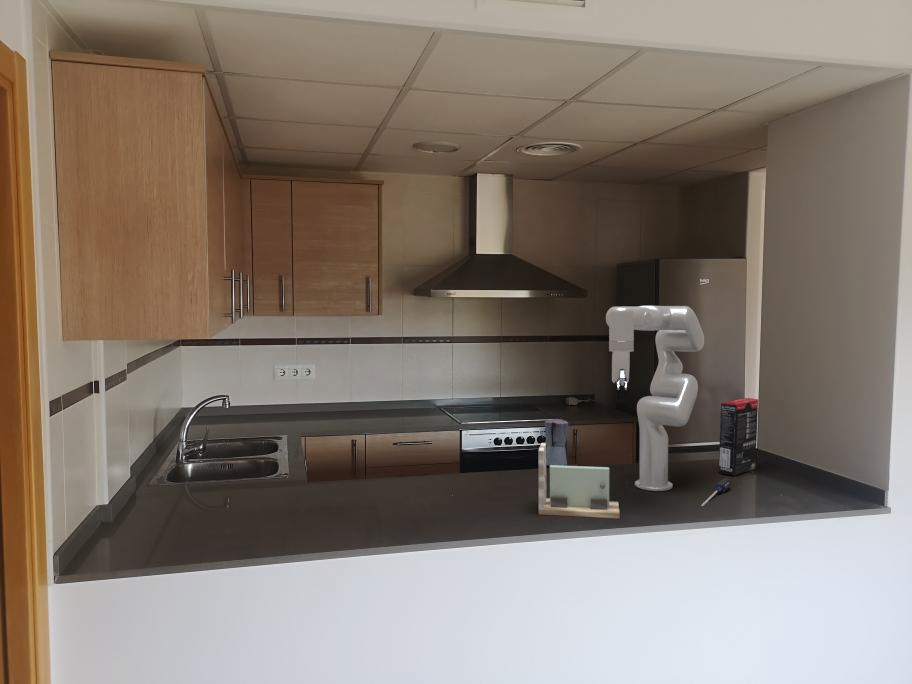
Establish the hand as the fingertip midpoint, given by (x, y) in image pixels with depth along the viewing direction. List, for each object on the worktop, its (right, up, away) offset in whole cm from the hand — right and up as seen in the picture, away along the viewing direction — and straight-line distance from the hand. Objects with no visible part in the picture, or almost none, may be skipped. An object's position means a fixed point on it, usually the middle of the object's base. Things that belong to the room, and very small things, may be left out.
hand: (621, 400), depth 208 cm
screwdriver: (+33, -33, +9) cm, 48 cm away
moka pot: (-13, -31, +53) cm, 62 cm away
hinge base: (-14, -34, -4) cm, 37 cm away
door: (-14, -32, -4) cm, 35 cm away
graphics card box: (+54, -31, +40) cm, 74 cm away
